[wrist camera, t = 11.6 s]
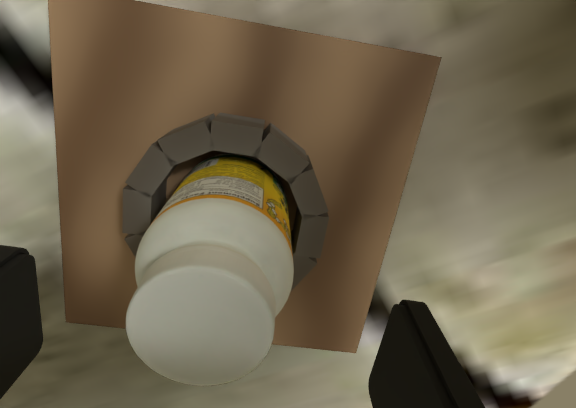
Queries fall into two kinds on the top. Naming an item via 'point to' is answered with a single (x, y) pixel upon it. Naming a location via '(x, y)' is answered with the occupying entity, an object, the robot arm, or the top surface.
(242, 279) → the supplement bottle
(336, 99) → the collar board
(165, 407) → the top surface
